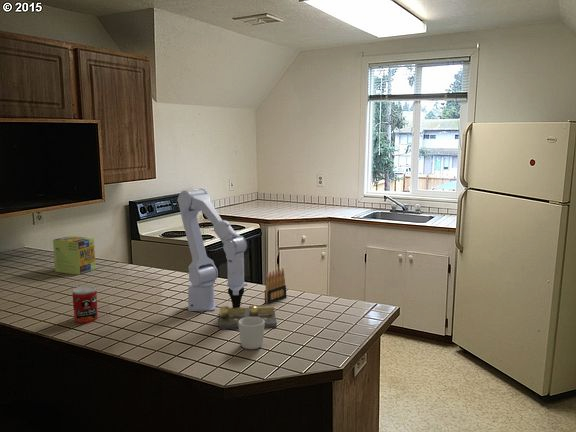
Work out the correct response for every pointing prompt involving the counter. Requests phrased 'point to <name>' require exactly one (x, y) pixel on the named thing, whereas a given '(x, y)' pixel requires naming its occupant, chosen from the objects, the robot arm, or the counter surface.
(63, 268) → the protein box
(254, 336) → the cup
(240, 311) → the knob left
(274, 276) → the ammunition clip
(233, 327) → the base plate
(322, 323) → the counter surface
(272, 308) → the knob right
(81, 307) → the canned food
